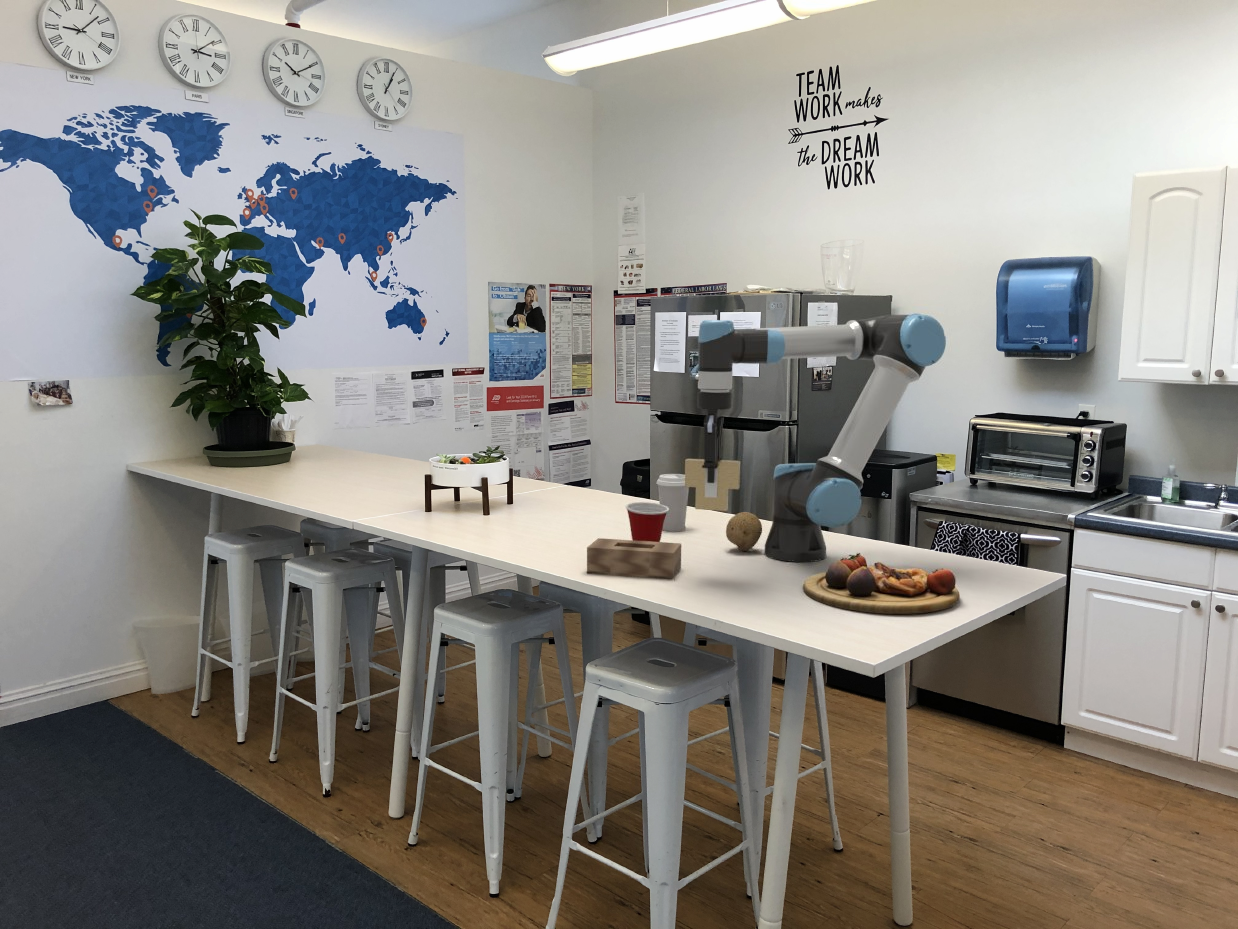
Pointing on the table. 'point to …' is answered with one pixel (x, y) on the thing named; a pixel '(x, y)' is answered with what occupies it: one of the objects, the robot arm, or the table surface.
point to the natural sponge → (744, 530)
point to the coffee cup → (673, 500)
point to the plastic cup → (646, 520)
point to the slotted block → (634, 558)
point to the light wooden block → (726, 480)
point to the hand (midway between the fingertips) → (712, 495)
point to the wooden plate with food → (882, 588)
